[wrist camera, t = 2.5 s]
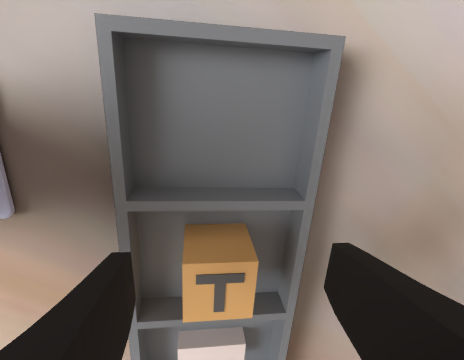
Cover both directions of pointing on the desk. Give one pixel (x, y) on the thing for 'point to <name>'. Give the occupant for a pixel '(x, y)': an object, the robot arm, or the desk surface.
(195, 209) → the organizer
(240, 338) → the eraser
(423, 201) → the desk surface
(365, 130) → the desk surface
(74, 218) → the desk surface
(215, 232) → the letter cube
